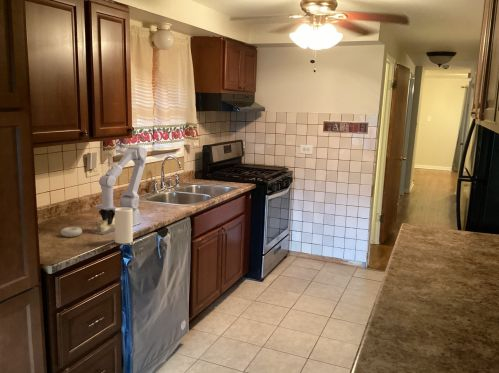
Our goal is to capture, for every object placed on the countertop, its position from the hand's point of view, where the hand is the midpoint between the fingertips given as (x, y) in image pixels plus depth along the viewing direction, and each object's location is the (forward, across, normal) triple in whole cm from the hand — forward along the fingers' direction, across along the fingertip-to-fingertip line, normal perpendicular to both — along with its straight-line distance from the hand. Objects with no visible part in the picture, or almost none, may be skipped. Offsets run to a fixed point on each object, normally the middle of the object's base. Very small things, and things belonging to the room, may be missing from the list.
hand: (107, 223), depth 237 cm
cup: (+4, +20, -13) cm, 25 cm away
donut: (+2, -9, -12) cm, 15 cm away
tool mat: (+3, 0, 0) cm, 3 cm away
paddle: (+3, 0, 0) cm, 3 cm away
